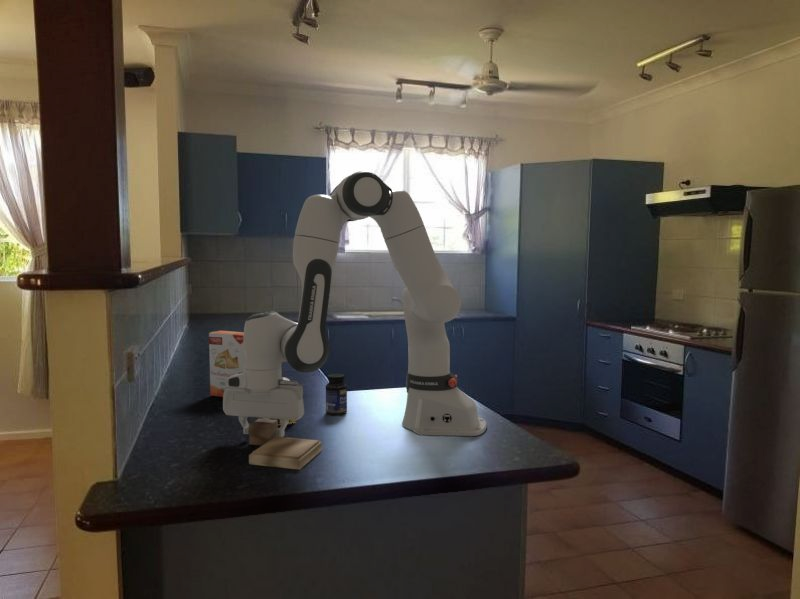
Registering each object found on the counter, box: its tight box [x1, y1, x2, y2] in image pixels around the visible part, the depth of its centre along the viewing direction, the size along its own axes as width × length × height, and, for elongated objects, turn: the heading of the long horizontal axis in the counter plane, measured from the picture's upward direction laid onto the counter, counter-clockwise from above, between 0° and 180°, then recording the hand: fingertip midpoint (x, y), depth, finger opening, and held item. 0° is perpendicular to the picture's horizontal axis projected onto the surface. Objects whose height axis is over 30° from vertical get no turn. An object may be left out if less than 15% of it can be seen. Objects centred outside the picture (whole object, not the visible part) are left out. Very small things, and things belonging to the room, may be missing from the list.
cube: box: [248, 418, 279, 447], centre depth 134 cm, size 5×5×5 cm
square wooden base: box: [248, 436, 323, 470], centre depth 124 cm, size 12×12×2 cm
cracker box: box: [208, 330, 245, 398], centre depth 177 cm, size 14×6×21 cm, turn 68°
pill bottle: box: [325, 373, 348, 416], centre depth 159 cm, size 6×6×11 cm
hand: (263, 434), depth 134 cm, fingers open, 7 cm apart
